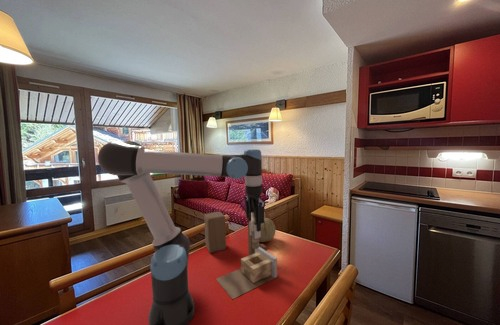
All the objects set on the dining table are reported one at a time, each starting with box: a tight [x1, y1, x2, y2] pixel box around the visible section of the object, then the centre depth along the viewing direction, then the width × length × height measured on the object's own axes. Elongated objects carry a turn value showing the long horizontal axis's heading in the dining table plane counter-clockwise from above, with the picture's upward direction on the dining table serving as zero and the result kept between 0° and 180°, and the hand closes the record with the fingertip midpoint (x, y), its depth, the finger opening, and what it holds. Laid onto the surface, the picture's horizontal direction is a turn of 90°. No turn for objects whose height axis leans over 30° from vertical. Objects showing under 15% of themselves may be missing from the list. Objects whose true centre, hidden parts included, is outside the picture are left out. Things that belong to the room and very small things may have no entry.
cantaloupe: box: [259, 217, 276, 243], centre depth 127 cm, size 15×15×15 cm
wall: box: [255, 247, 278, 279], centre depth 98 cm, size 2×15×9 cm, turn 34°
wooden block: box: [247, 222, 268, 256], centre depth 111 cm, size 9×4×18 cm, turn 112°
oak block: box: [240, 252, 272, 283], centre depth 95 cm, size 10×10×6 cm
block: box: [203, 211, 227, 254], centre depth 119 cm, size 10×10×20 cm
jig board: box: [215, 267, 279, 300], centre depth 93 cm, size 24×15×1 cm, turn 124°
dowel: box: [251, 211, 260, 249], centre depth 92 cm, size 3×3×16 cm
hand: (255, 235), depth 92 cm, fingers closed on dowel, 3 cm apart
